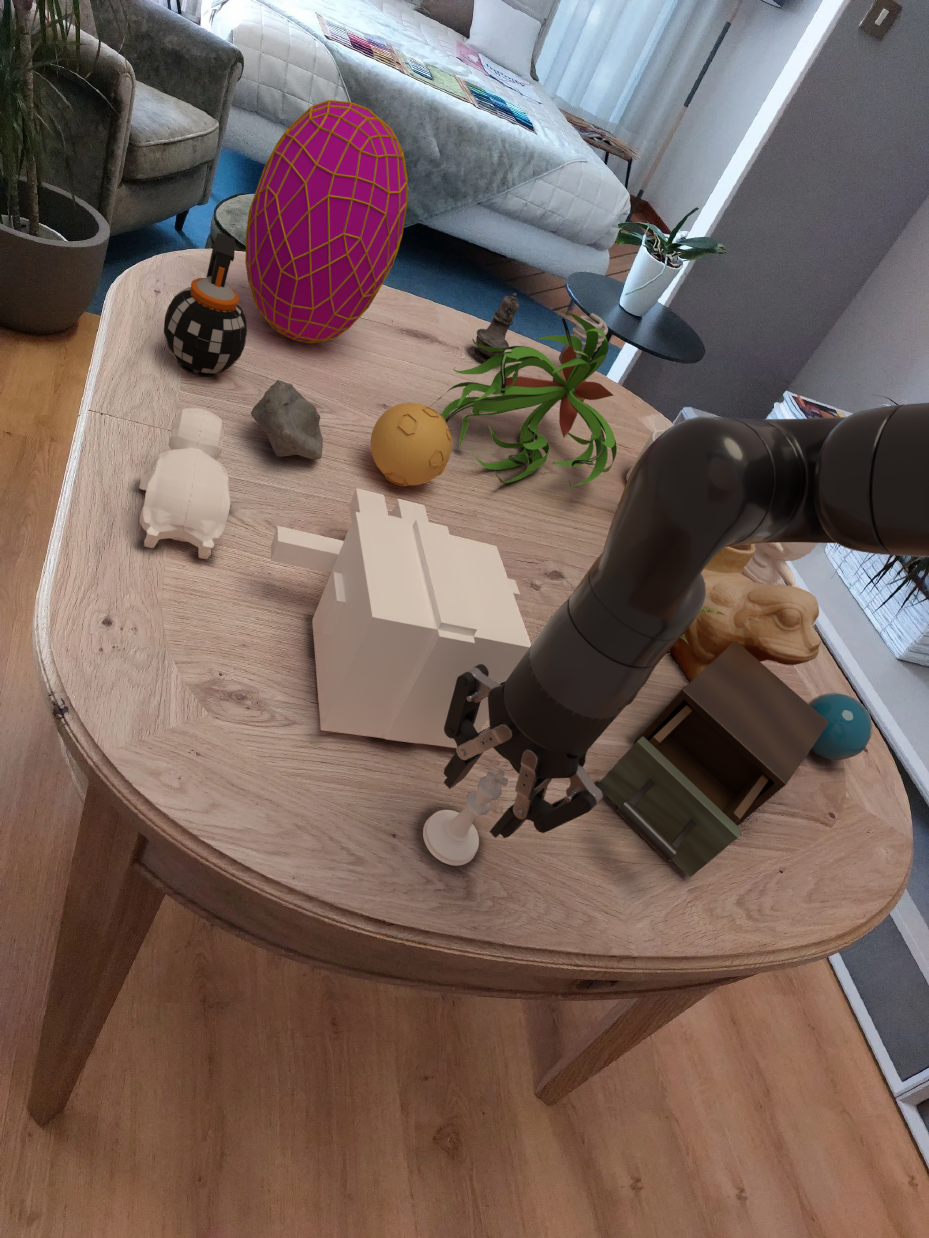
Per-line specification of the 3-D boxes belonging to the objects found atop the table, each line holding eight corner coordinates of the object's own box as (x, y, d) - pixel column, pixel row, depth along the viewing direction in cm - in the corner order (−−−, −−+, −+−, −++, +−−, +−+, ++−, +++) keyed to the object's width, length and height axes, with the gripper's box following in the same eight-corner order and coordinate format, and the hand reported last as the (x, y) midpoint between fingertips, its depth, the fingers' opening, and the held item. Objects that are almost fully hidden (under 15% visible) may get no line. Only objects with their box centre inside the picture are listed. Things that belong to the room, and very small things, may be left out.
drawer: (663, 913, 73) (713, 872, 69) (566, 813, 77) (607, 769, 72) (741, 807, 87) (787, 768, 83) (656, 727, 91) (696, 685, 86)
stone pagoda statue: (465, 356, 138) (497, 289, 131) (470, 343, 142) (501, 278, 135) (497, 372, 139) (530, 307, 131) (501, 359, 143) (533, 295, 136)
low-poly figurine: (215, 576, 84) (233, 451, 90) (233, 539, 77) (251, 406, 83) (125, 557, 81) (150, 429, 87) (134, 517, 74) (161, 380, 80)
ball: (803, 711, 107) (846, 672, 102) (850, 761, 104) (898, 722, 99) (774, 729, 101) (818, 688, 96) (823, 782, 98) (871, 742, 93)
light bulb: (547, 363, 150) (580, 303, 143) (574, 374, 152) (608, 314, 145) (553, 379, 147) (587, 318, 139) (580, 390, 149) (616, 330, 141)
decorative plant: (576, 477, 137) (536, 562, 112) (459, 373, 133) (392, 437, 109) (695, 358, 122) (678, 426, 97) (567, 236, 118) (516, 276, 94)
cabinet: (728, 833, 85) (786, 784, 80) (633, 742, 89) (682, 689, 83) (775, 769, 96) (829, 722, 90) (689, 690, 100) (735, 640, 94)
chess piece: (427, 804, 72) (476, 736, 66) (479, 824, 73) (532, 759, 66) (418, 853, 68) (468, 786, 62) (473, 874, 69) (528, 809, 63)
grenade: (161, 327, 106) (185, 211, 96) (236, 349, 110) (266, 240, 100) (154, 375, 98) (179, 254, 89) (235, 397, 102) (268, 284, 93)
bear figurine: (739, 641, 112) (839, 535, 100) (680, 540, 125) (761, 436, 113) (779, 647, 115) (880, 545, 103) (717, 548, 128) (800, 448, 116)
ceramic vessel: (719, 726, 97) (805, 641, 88) (592, 567, 109) (656, 478, 100) (783, 705, 106) (867, 626, 96) (659, 560, 118) (723, 477, 109)
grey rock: (322, 486, 97) (344, 430, 92) (243, 468, 93) (262, 409, 88) (315, 431, 104) (335, 376, 99) (242, 412, 100) (259, 354, 95)
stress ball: (346, 470, 101) (374, 401, 95) (378, 441, 109) (406, 375, 103) (416, 513, 101) (449, 447, 95) (444, 480, 109) (476, 417, 103)
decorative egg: (299, 383, 110) (377, 151, 92) (194, 301, 114) (249, 61, 95) (382, 358, 125) (464, 154, 107) (287, 286, 128) (351, 76, 110)
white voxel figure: (464, 580, 99) (519, 768, 79) (253, 533, 89) (254, 734, 69) (518, 477, 91) (594, 658, 70) (292, 413, 81) (306, 602, 61)
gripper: (474, 617, 56) (385, 761, 66) (635, 772, 52) (512, 900, 62) (535, 584, 61) (443, 723, 72) (684, 723, 57) (564, 848, 68)
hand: (476, 805), depth 67 cm, fingers open, 4 cm apart
